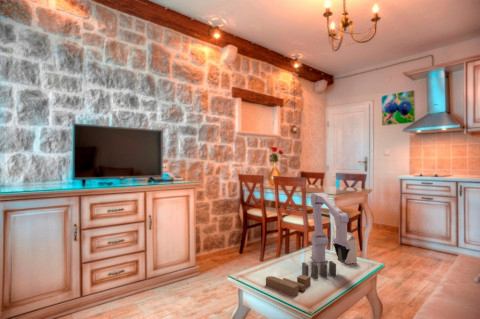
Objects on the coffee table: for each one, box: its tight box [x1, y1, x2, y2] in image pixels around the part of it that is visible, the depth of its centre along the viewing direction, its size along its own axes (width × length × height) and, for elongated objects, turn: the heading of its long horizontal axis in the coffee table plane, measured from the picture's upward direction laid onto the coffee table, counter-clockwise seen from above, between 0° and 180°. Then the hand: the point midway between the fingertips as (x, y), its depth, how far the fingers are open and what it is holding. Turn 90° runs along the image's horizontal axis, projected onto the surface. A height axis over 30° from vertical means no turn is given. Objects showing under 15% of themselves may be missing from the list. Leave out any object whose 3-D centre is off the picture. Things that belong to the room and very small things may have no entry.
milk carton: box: [344, 231, 358, 265], centre depth 172 cm, size 7×7×19 cm
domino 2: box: [310, 261, 319, 279], centre depth 150 cm, size 2×5×7 cm, turn 10°
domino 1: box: [301, 262, 309, 276], centre depth 149 cm, size 2×5×7 cm, turn 10°
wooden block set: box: [265, 274, 312, 297], centre depth 138 cm, size 17×6×18 cm
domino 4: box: [328, 260, 337, 278], centre depth 151 cm, size 2×5×7 cm, turn 10°
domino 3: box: [319, 261, 328, 278], centre depth 150 cm, size 2×5×7 cm, turn 10°
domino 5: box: [337, 248, 346, 264], centre depth 152 cm, size 2×5×7 cm, turn 10°
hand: (341, 257), depth 152 cm, fingers closed on domino 5, 5 cm apart
